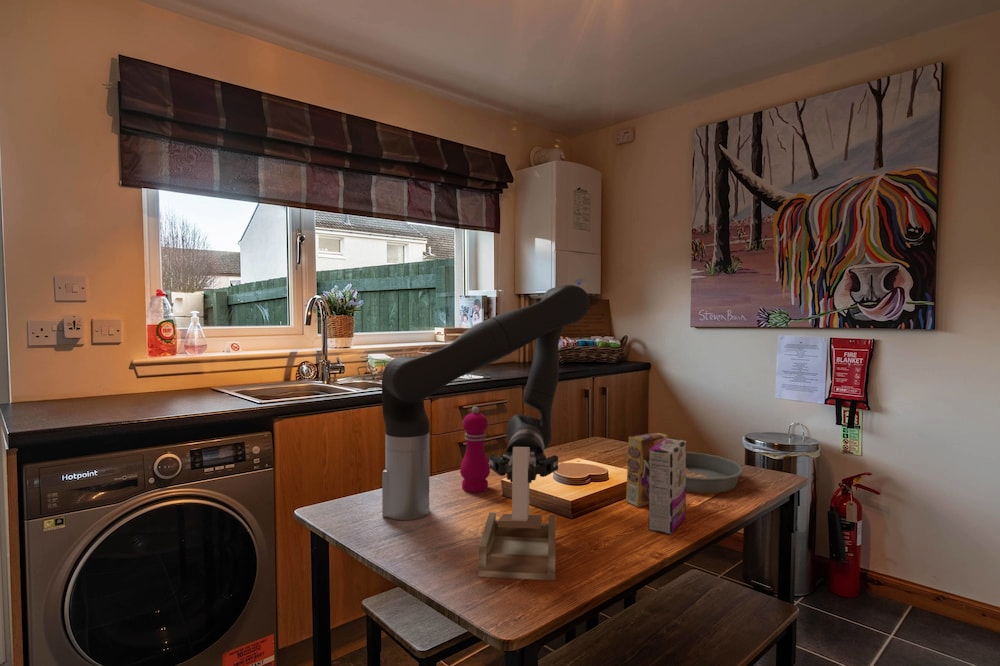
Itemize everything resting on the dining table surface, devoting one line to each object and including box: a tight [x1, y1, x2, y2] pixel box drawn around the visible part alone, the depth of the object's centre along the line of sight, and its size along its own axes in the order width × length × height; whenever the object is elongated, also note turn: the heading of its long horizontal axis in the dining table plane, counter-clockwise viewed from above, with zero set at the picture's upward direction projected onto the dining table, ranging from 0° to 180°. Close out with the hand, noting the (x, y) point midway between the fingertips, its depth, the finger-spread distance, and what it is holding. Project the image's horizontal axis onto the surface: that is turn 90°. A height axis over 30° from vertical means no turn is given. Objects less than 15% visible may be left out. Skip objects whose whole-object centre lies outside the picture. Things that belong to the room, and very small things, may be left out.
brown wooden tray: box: [478, 511, 557, 581], centre depth 98 cm, size 12×15×5 cm
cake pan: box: [686, 451, 745, 494], centre depth 145 cm, size 25×25×4 cm
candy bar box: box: [648, 438, 687, 535], centre depth 114 cm, size 11×5×16 cm, turn 148°
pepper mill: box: [459, 406, 491, 493], centre depth 136 cm, size 7×7×20 cm
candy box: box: [625, 432, 669, 508], centre depth 127 cm, size 9×4×15 cm, turn 123°
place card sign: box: [497, 447, 543, 529], centre depth 98 cm, size 7×10×13 cm
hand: (520, 477), depth 97 cm, fingers closed on place card sign, 2 cm apart
